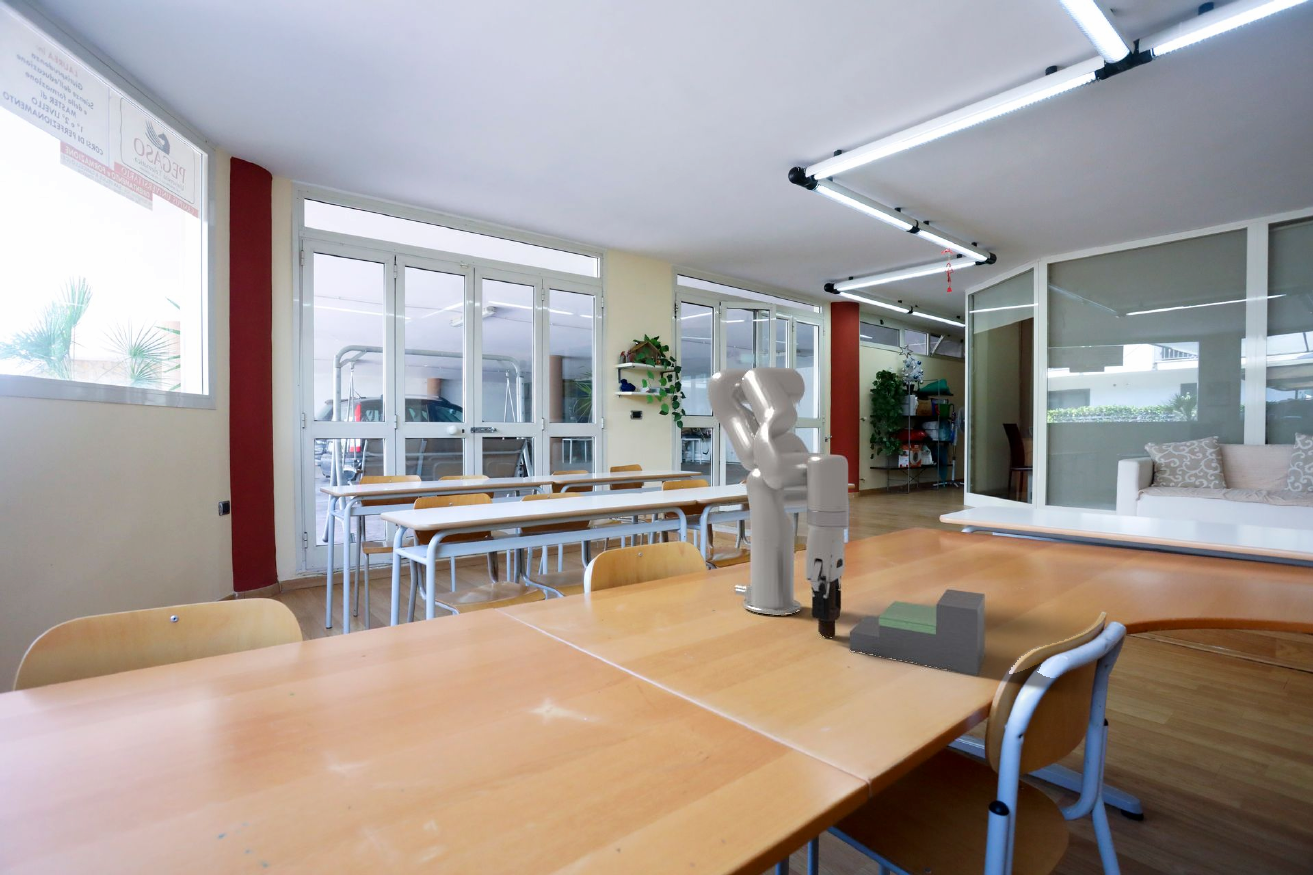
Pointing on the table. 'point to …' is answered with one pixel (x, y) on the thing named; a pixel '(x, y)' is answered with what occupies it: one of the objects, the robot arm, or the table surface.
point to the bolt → (828, 626)
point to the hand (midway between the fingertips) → (826, 613)
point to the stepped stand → (928, 633)
